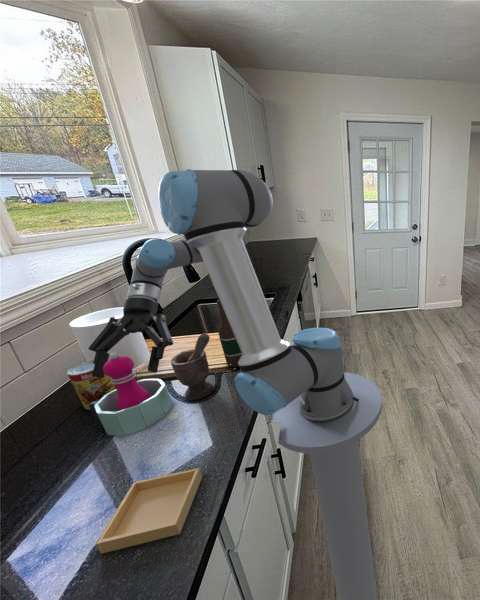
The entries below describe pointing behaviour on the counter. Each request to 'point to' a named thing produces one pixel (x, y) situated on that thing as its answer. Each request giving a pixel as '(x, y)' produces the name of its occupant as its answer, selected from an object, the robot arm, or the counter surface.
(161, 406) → the green faceted bowl
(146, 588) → the counter surface
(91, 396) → the canned food
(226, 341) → the beer bottle
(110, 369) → the pepper mill
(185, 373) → the mortar and pestle
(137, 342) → the canister
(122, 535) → the tray
